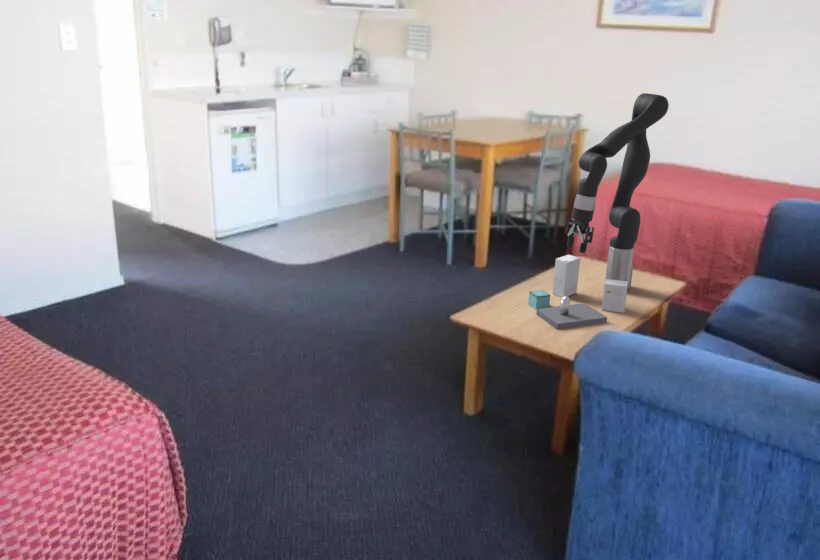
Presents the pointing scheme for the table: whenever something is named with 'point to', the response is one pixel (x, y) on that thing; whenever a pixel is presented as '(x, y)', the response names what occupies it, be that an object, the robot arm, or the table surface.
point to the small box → (615, 295)
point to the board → (571, 316)
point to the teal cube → (539, 299)
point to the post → (565, 305)
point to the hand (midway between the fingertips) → (575, 249)
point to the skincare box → (566, 275)
